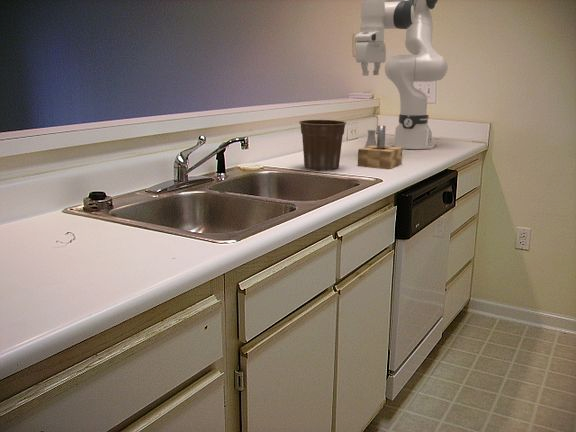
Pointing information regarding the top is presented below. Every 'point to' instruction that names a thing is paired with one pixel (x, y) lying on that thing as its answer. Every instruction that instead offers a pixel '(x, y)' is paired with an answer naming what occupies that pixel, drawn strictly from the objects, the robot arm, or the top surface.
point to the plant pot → (322, 143)
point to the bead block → (380, 157)
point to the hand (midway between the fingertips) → (370, 75)
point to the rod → (381, 137)
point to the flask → (371, 138)
